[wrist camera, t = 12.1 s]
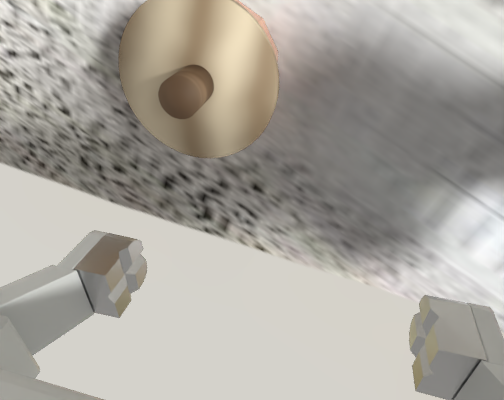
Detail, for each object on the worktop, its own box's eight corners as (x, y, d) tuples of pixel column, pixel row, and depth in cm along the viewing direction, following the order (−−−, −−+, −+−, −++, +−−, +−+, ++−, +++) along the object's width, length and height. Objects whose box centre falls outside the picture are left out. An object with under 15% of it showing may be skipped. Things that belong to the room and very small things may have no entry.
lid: (284, -10, 25) (274, -5, 21) (274, 161, 33) (265, 188, 29) (109, -16, 28) (69, -12, 24) (138, 145, 36) (112, 169, 31)
